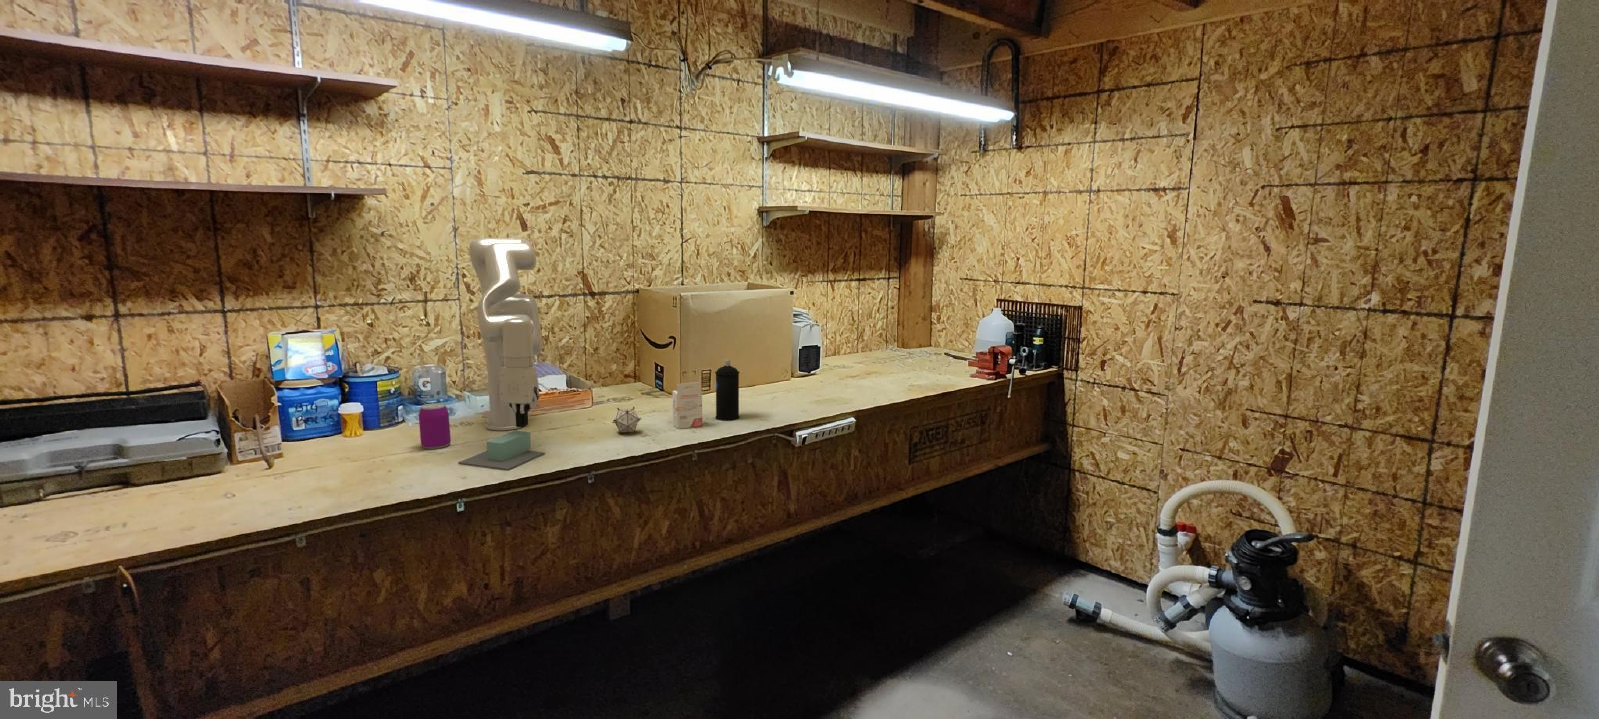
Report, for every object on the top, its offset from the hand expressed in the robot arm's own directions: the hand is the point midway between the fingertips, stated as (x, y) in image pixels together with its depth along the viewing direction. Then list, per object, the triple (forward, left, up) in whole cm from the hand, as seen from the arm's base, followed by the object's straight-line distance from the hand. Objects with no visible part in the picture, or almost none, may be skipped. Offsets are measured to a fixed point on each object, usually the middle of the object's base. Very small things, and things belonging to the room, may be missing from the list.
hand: (522, 425), depth 202 cm
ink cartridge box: (+32, +40, -7) cm, 52 cm away
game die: (+18, +26, -7) cm, 32 cm away
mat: (0, -9, -7) cm, 11 cm away
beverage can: (-26, -5, -7) cm, 28 cm away
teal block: (0, +1, -4) cm, 4 cm away
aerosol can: (+40, +54, -7) cm, 68 cm away
